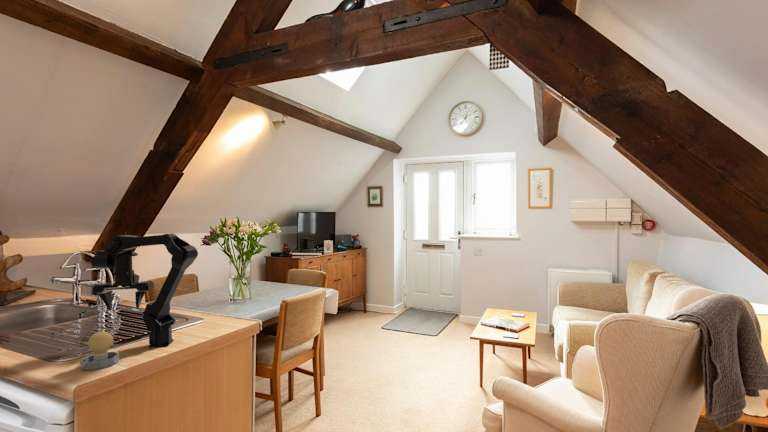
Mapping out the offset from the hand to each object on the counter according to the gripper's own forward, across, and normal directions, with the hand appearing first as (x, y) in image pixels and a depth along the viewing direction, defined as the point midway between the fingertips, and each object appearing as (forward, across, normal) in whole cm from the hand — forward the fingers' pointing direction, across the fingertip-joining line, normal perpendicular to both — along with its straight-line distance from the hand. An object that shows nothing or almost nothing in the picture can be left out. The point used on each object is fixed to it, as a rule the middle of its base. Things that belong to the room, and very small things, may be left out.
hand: (124, 309), depth 143 cm
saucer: (+13, -2, +20) cm, 24 cm away
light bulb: (+13, -2, +20) cm, 24 cm away
